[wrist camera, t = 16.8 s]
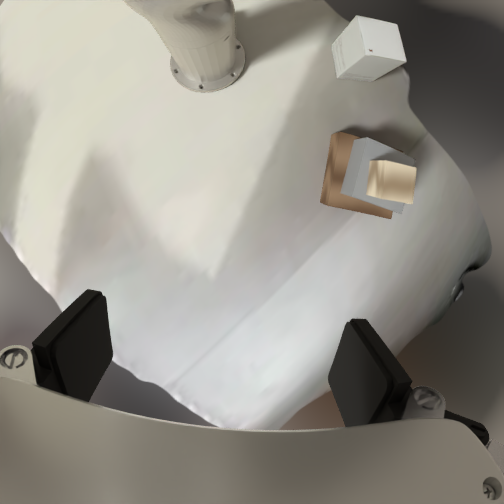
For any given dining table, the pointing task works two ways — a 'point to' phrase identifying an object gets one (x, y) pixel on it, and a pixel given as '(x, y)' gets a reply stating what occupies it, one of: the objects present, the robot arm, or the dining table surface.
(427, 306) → the dining table surface
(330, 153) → the base block
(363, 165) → the top block
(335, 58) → the supplement box
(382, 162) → the ash cube
